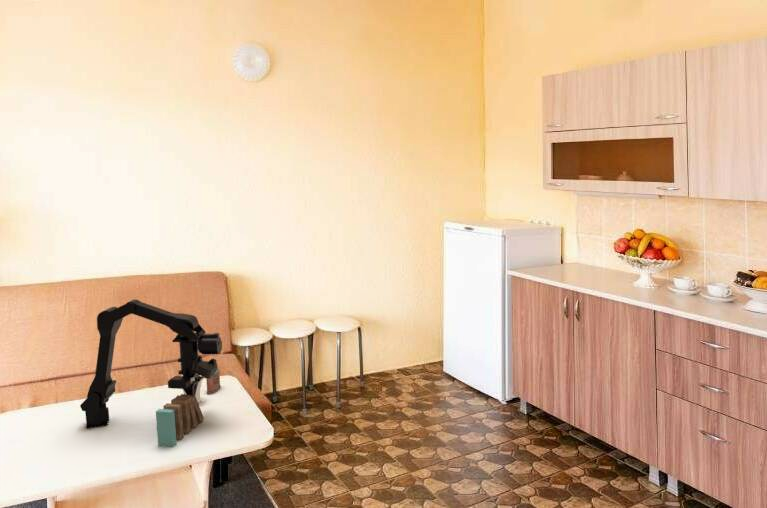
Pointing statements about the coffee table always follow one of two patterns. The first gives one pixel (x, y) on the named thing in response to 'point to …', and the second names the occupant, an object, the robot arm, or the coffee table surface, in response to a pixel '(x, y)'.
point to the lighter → (213, 383)
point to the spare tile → (166, 427)
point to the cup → (197, 391)
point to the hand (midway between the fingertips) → (192, 399)
